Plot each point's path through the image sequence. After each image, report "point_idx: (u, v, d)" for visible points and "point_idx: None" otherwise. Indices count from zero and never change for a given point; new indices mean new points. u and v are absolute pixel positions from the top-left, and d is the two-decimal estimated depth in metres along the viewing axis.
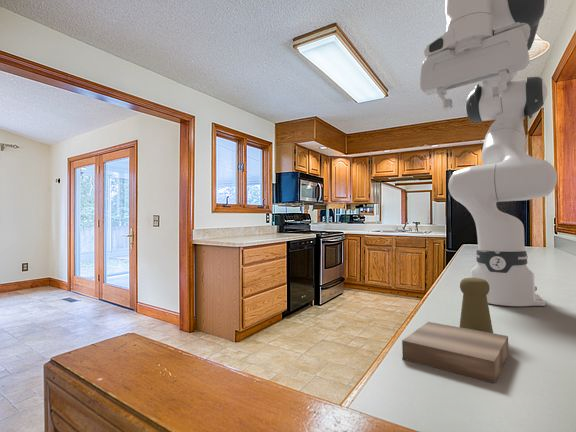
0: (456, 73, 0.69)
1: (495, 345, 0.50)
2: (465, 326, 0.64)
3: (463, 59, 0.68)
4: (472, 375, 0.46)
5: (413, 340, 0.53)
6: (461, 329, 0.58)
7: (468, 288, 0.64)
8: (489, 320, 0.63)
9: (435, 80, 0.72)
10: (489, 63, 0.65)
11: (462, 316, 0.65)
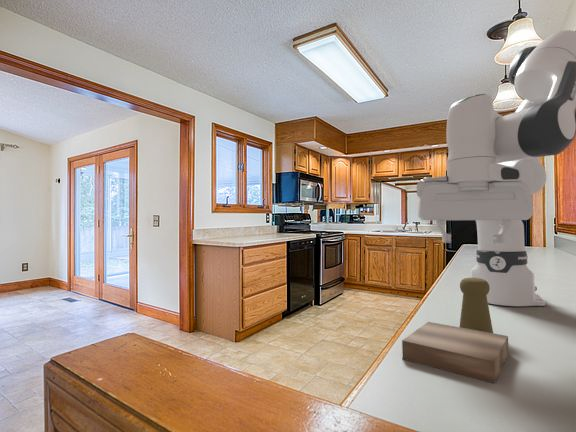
0: None
1: (495, 345, 0.50)
2: (465, 326, 0.64)
3: None
4: (472, 375, 0.46)
5: (413, 340, 0.53)
6: (461, 329, 0.58)
7: (468, 288, 0.63)
8: (489, 320, 0.63)
9: None
10: None
11: (462, 316, 0.65)
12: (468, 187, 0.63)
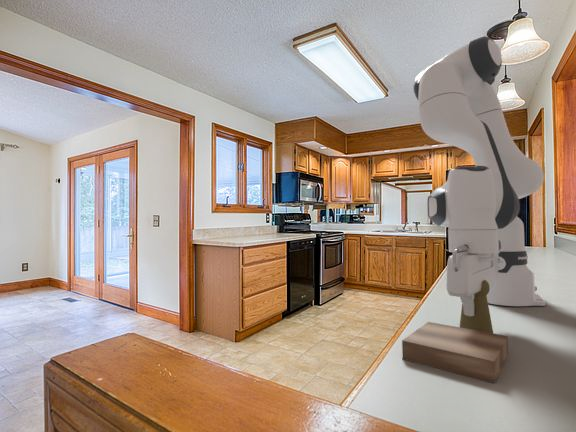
0: None
1: (495, 345, 0.50)
2: (465, 326, 0.64)
3: None
4: (472, 375, 0.46)
5: (413, 340, 0.53)
6: (461, 329, 0.58)
7: None
8: (489, 320, 0.63)
9: None
10: None
11: (462, 316, 0.65)
12: (487, 258, 0.62)
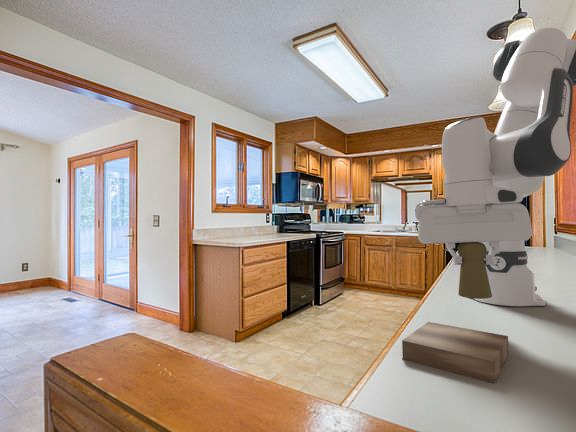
0: None
1: (495, 345, 0.50)
2: None
3: None
4: (472, 375, 0.46)
5: (413, 340, 0.53)
6: (461, 329, 0.58)
7: None
8: (475, 282, 0.64)
9: None
10: None
11: None
12: (466, 210, 0.64)
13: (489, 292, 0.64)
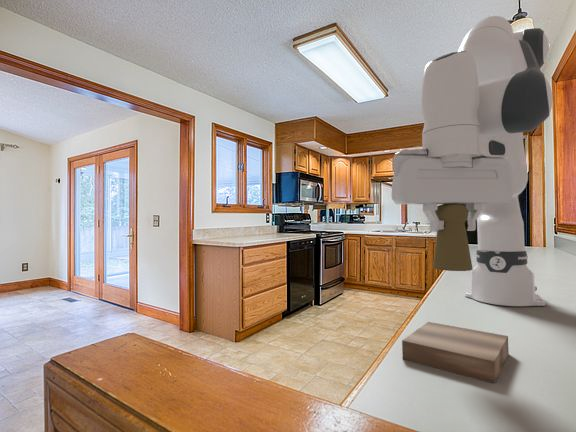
0: None
1: (495, 345, 0.50)
2: (434, 258, 0.55)
3: None
4: (472, 375, 0.46)
5: (413, 340, 0.53)
6: (461, 329, 0.58)
7: (436, 214, 0.54)
8: (460, 251, 0.52)
9: None
10: None
11: None
12: (455, 162, 0.51)
13: (471, 263, 0.53)
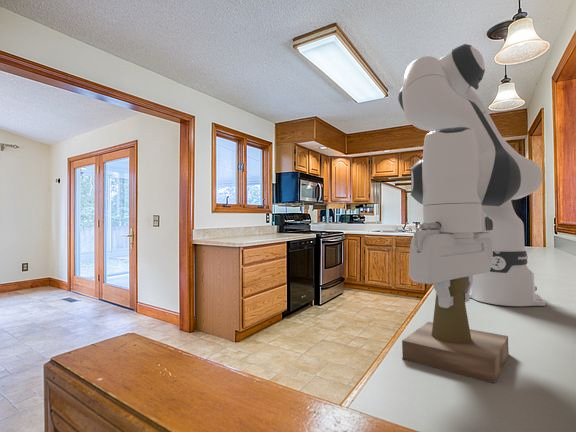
0: None
1: (495, 345, 0.50)
2: (436, 328, 0.54)
3: None
4: (472, 375, 0.46)
5: (413, 340, 0.53)
6: None
7: None
8: (465, 322, 0.52)
9: None
10: None
11: (434, 316, 0.55)
12: (466, 239, 0.51)
13: None
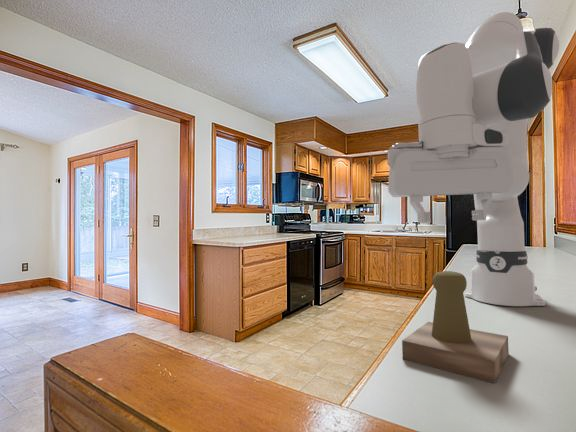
0: None
1: (495, 345, 0.50)
2: (436, 328, 0.54)
3: None
4: (472, 375, 0.46)
5: (413, 340, 0.53)
6: None
7: (439, 284, 0.53)
8: (465, 322, 0.52)
9: None
10: None
11: (434, 316, 0.55)
12: (450, 153, 0.52)
13: None
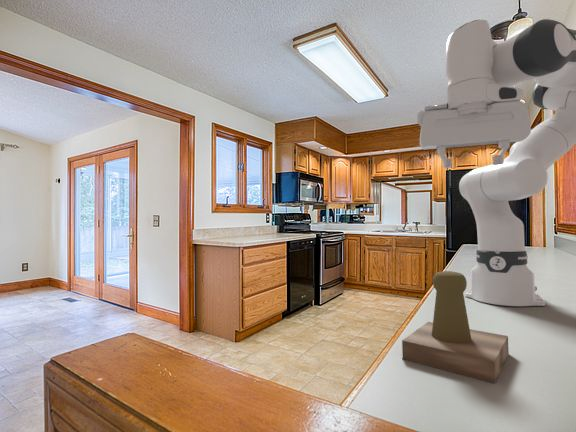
0: None
1: (495, 345, 0.50)
2: (436, 328, 0.54)
3: None
4: (472, 375, 0.46)
5: (413, 340, 0.53)
6: None
7: (439, 284, 0.53)
8: (465, 322, 0.52)
9: None
10: None
11: (434, 316, 0.55)
12: (467, 110, 0.65)
13: None
